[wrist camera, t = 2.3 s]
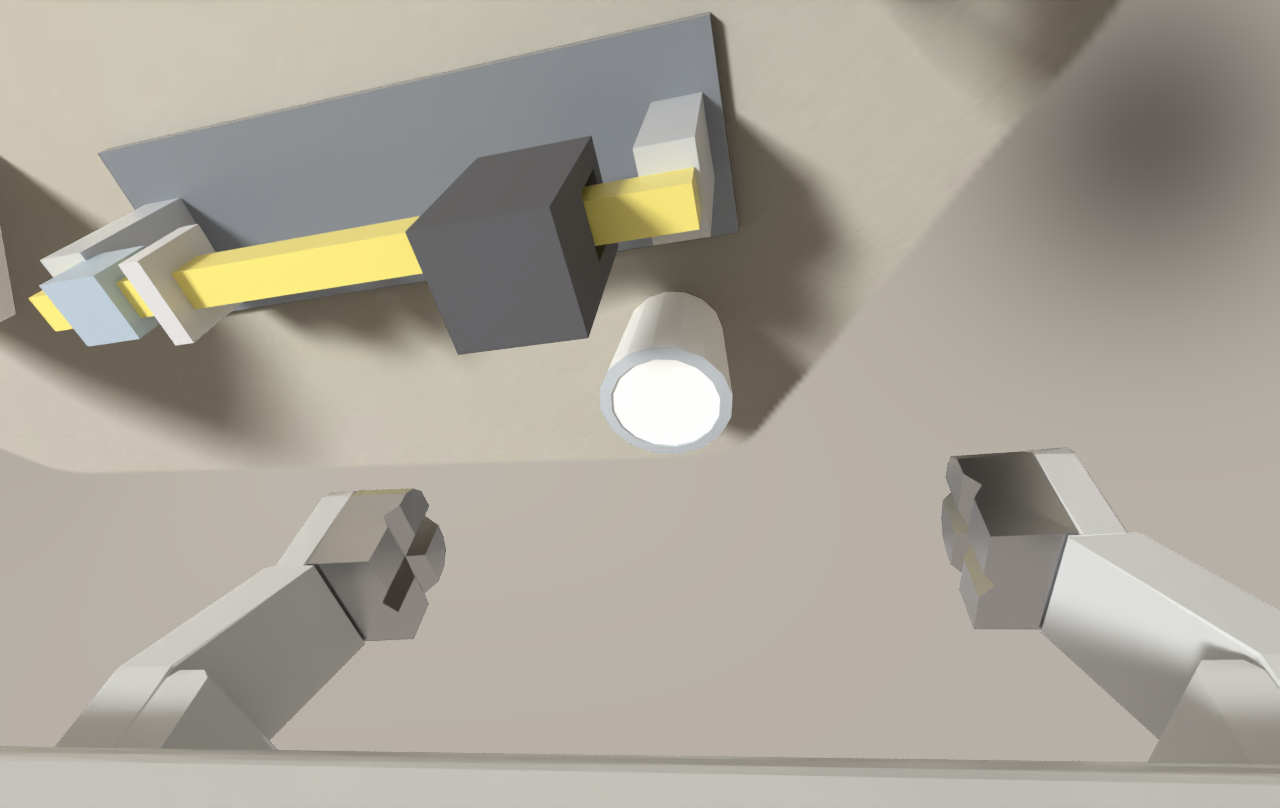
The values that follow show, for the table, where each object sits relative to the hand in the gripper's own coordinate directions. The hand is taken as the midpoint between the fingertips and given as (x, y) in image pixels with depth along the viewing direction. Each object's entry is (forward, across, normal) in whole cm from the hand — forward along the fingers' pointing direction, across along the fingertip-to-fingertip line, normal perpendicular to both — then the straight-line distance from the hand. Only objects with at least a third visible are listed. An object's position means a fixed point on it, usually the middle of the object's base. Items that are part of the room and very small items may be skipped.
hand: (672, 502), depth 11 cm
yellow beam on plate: (+27, +16, +2) cm, 31 cm away
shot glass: (+27, +3, +12) cm, 30 cm away
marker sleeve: (+20, +7, +2) cm, 22 cm away
